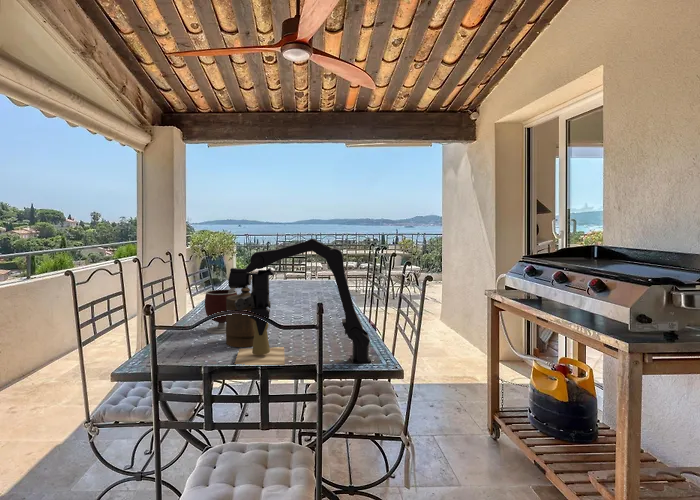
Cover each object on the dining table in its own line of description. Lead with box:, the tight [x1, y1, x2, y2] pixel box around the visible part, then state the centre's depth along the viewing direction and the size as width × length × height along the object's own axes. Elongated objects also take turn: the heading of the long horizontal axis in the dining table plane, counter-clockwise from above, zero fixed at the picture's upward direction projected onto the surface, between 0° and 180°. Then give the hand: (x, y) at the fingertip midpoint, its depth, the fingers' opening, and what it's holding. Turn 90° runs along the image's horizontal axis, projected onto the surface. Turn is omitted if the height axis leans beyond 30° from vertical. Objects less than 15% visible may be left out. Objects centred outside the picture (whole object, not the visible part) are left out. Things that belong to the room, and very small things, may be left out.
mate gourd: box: [204, 288, 238, 335], centre depth 182 cm, size 16×14×20 cm
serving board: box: [234, 346, 286, 366], centre depth 144 cm, size 18×16×2 cm
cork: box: [252, 321, 271, 355], centre depth 143 cm, size 6×6×11 cm
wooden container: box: [225, 287, 255, 348], centre depth 165 cm, size 15×15×22 cm
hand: (261, 333), depth 143 cm, fingers closed on cork, 5 cm apart
